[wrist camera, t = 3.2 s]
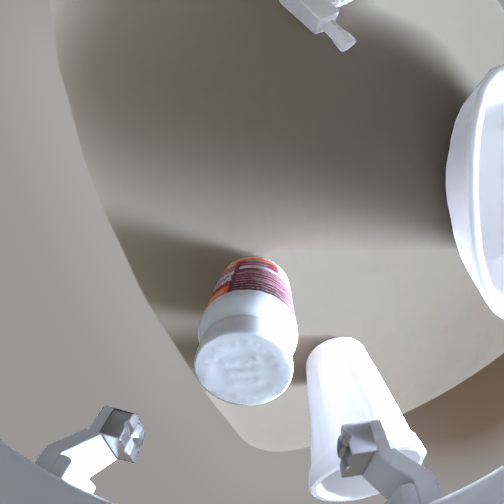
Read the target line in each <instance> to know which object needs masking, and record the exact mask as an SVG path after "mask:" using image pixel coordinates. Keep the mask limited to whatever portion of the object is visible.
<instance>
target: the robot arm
mask: <svg viewBox="0 0 504 504" xmlns="http://www.w3.org/2000/svg"><path fill="white" fill-rule="evenodd" d="M139 420H140V418H139V416H138V415H137V414H135V413H131V412H127V411H123V410H119V409H116V408H112V407H109V406H105V407H103V408H102V410H101V411H100V413H99V414H98V416H97V417H96V419H95V420H94V422H93V423H92V425H91V426H90V428H89V429H84V430H82V431H80V432H77V433H75V434H73V435H71V436H68V437H66V438H64V439H62V440H59V441H57V442H55V443H52V444H50V445H48V446H47V447H46V448H45V450H44V451H43V452H42V454H41V455H40V456H39V458H38V459H37V461H36V462H35V463H34V462H32V461H30V460H29V459H27V458H26V457H24V456H23V455H21V454H20V453H19V452H17V451H16V450H14V449H13V448H11V447H10V446H9V445H7V444H6V443H5V442H4V441H2V440H1V439H0V504H116V503H113V502H111V501H108V500H106V499H103V498H101V497H98V496H96V495H94V494H93V492H94V490H95V486H94V484H93V483H92V482H91V481H90V480H89V479H88V478H89V477H91V476H93V475H94V474H96V473H97V472H99V471H100V470H102V469H103V468H104V467H106V466H108V465H109V464H111V463H112V462H114V461H115V460H116V458H118V459H121V460H124V461H128V462H132V463H134V461H135V459H136V457H137V455H138V453H139V451H138V449H137V448H138V447H139V446H141V445H142V444H143V441H144V438H145V431H144V427H143V426H142V425H141V424H140V423H139ZM337 454H338V457H339V458H340V459H341V462H340V465H339V466H340V472H341V478H344V477H352V476H359V475H362V476H363V477H364V478H365V479H366V480H367V481H368V482H369V483H370V484H371V485H372V486H373V487H374V488H375V489H376V490H377V491H378V492H379V493H380V494H381V495H382V496H384V497H385V498H386V499H387V501H386V503H385V504H504V465H503V466H502V467H500V468H498V469H497V470H495V471H493V472H492V473H490V474H488V475H487V476H485V477H483V478H481V479H479V480H478V481H476V482H474V483H472V484H470V485H468V486H466V487H464V488H462V489H460V490H458V491H456V492H453V493H451V494H449V495H447V496H445V497H443V496H442V493H441V490H440V488H439V485H438V483H437V480H436V478H435V475H434V473H432V472H431V471H429V470H427V469H426V468H424V467H423V466H421V465H420V464H418V463H416V462H415V461H413V460H412V459H410V458H409V457H407V456H406V455H404V454H403V453H401V452H400V451H398V450H397V449H395V448H392V449H391V446H390V444H389V441H388V438H387V435H386V432H385V430H384V427H383V424H382V422H381V420H380V419H377V420H372V421H364V422H357V423H350V424H343V425H342V427H341V435H340V436H339V437H338V440H337Z"/></svg>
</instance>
